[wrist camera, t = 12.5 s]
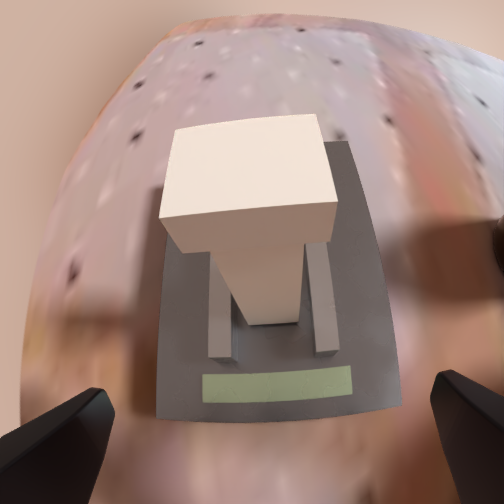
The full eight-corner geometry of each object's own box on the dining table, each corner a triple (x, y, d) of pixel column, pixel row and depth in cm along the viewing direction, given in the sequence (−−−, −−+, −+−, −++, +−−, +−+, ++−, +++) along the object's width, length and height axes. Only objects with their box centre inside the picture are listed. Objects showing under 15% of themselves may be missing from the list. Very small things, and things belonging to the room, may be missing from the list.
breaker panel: (384, 405, 15) (415, 405, 11) (176, 416, 16) (140, 419, 12) (343, 169, 23) (350, 121, 18) (190, 183, 24) (171, 139, 20)
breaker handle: (311, 324, 14) (338, 201, 6) (236, 329, 15) (158, 217, 6) (306, 271, 16) (315, 113, 7) (235, 276, 16) (175, 129, 7)
